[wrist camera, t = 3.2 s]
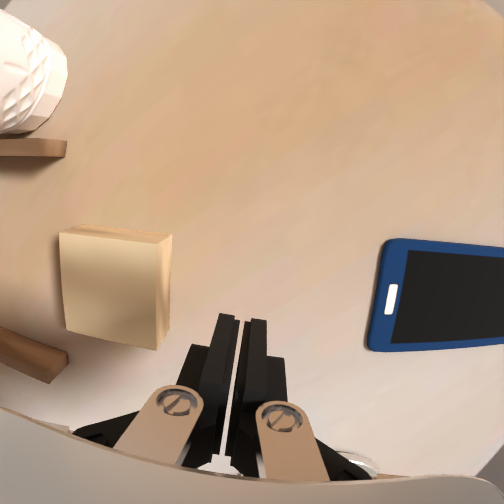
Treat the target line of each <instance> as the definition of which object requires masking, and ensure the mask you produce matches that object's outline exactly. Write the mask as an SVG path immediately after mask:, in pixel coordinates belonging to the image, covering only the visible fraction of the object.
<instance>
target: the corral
mask: <svg viewBox="0 0 504 504" xmlns="http://www.w3.org/2000/svg"><path fill="white" fill-rule="evenodd" d="M66 145H67V141H61V140H52V139H41V138H26V139H0V156H57V157H65V152H66ZM0 362H2V363H4V364H6V365H8V366H10V367H12V368H14V369H16V370H18V371H20V372H22V373H24V374H27V375H29V376H31V377H33V378H36V379H38V380H40V381H43V382H45V383H47V384H49V383H50V382H51V381H52V380H53V379H54V378H55V377H56V376H57V375H58V374H59V373H60V372H61V371H62V370H63V369H64V368H65V367H66V366H67V365H68V357H67V353H66V352H63V351H60V350H57V349H55V348H52V347H49V346H46V345H44V344H41V343H39V342H36V341H33V340H31V339H28V338H26V337H23V336H21V335H18V334H16V333H14V332H11V331H9V330H7V329H4V328H2V327H0Z"/></svg>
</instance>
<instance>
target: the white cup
mask: <svg viewBox="0 0 504 504" xmlns="http://www.w3.org/2000/svg"><path fill="white" fill-rule="evenodd" d="M67 77H68V72H67V58H66V56H65V54H64V53H63V52H62V50H61V49H60V47H59V46H58V45H57V44H55V43H54V42H52V41H50V40H49V39H47V38H45V37H43V36H42V35H41V34H40V33H38V32H37V31H36V30H35V29H33V28H32V27H30V26H28V25H26V24H25V23H23V22H22V21H21V20H19V19H18V18H16V17H14V16H13V15H11V14H9V13H7V12H5V11H4V10H2V9H0V134H2V133H3V134H21V133H25V132H29V131H33V130H35V129H36V128H38V127H39V126H40V125H41V124H42V123H43V122H45V121H46V120H47V119H48V118H49V117H50V116H51V114H52V113H53V111H54V109H55V108H56V106H57V104H58V103H59V101H60V100H61V98H62V95H63V91H64V88H65V84H66V81H67Z"/></svg>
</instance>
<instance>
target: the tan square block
mask: <svg viewBox="0 0 504 504" xmlns="http://www.w3.org/2000/svg"><path fill="white" fill-rule="evenodd" d="M59 245H60V268H61V282H62V294H63V304H64V313H65V321H66V329H67V330H68V331H72V332H76V333H79V334H83V335H87V336H91V337H95V338H100V339H104V340H108V341H112V342H117V343H121V344H126V345H131V346H136V347H140V348H145V349H150V350H157V349H158V347H159V345H160V344H161V342H162V341H163V339H164V337H165V336H166V334H167V332H168V331H169V319H170V275H171V251H172V234H166V233H156V232H147V231H138V230H129V229H119V228H110V227H101V226H91V225H81V226H78V227H74V228H71V229H68V230H65V231H62V232H59Z"/></svg>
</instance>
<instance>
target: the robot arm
mask: <svg viewBox="0 0 504 504" xmlns="http://www.w3.org/2000/svg"><path fill="white" fill-rule="evenodd" d="M234 317H235V316H234V315H228V314H222V313H220V314H219V317H218V320H217V324H216V327H215V330H214V334H213V337H212V340H211V344H210V347H207V346H201V345H196V344H192V345H191V347H190V349H189V352H188V354H187V357H186V359H185V362H184V365H183V367H182V370H181V372H180V375H179V378H178V380H177V383H176V385H169V386H164V387H161V388H159V389H157V390H156V391H155V392H154V393H153V394H152V395H151V397H150V398H149V399H148V401H147V402H146V403H145V405H144V406H143V407H142V409H141V410H140V411H137V412H133V413H130V414H127V415H124V416H120V417H117V418H113V419H110V420H106V421H103V422H99V423H95V424H91V425H88V426H84V427H81V428H79V429H77V430H75V431H70V429H69V427H68V426H63V425H58V424H53V423H48V422H44V421H39V420H35V419H32V418H30V417H27V416H25V415H22V414H20V413H17V412H14V411H12V410H9V409H6V408H3V407H0V504H504V495H503V494H502V493H501V492H500V490H499V489H498V488H497V487H496V486H494V485H493V484H492V483H490V482H488V481H486V480H484V479H481V478H476V477H472V476H465V475H446V474H442V475H424V476H414V477H410V476H397V475H387V474H380V472H379V470H378V468H377V467H376V465H375V464H374V463H373V462H371V461H370V460H368V459H366V458H364V457H361V456H358V455H355V454H349V453H344V452H336V451H334V450H333V449H331V448H330V447H328V446H327V445H325V444H324V443H322V442H321V441H319V440H318V439H316V438H315V437H314V434H313V431H312V428H311V426H310V423H309V420H308V417H307V415H306V414H305V412H304V411H303V410H302V409H301V408H299V407H298V406H296V405H294V404H292V403H288V401H287V387H286V375H285V362H284V358H280V357H272V356H267V320H261V319H254V318H251V322H247V321H245V323H244V329H243V336H242V342H241V348H240V354H239V360H238V366H237V373H236V379H235V385H234V392H233V399H232V407H231V414H230V421H229V428H228V435H227V442H226V450H225V456H231V463H230V466H233V467H235V468H236V469H237V470H238V471H239V472H240V473H241V476H237V475H229V474H222V473H216V472H209V471H204V470H198V467H200V466H202V465H204V464H206V463H208V462H209V463H211V459H212V454H217V455H219V452H220V446H221V440H222V433H223V427H224V421H225V414H226V408H227V401H228V395H229V389H230V382H231V376H232V369H233V363H234V356H235V350H236V343H237V337H238V330H239V324H240V320H235V319H234Z"/></svg>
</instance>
